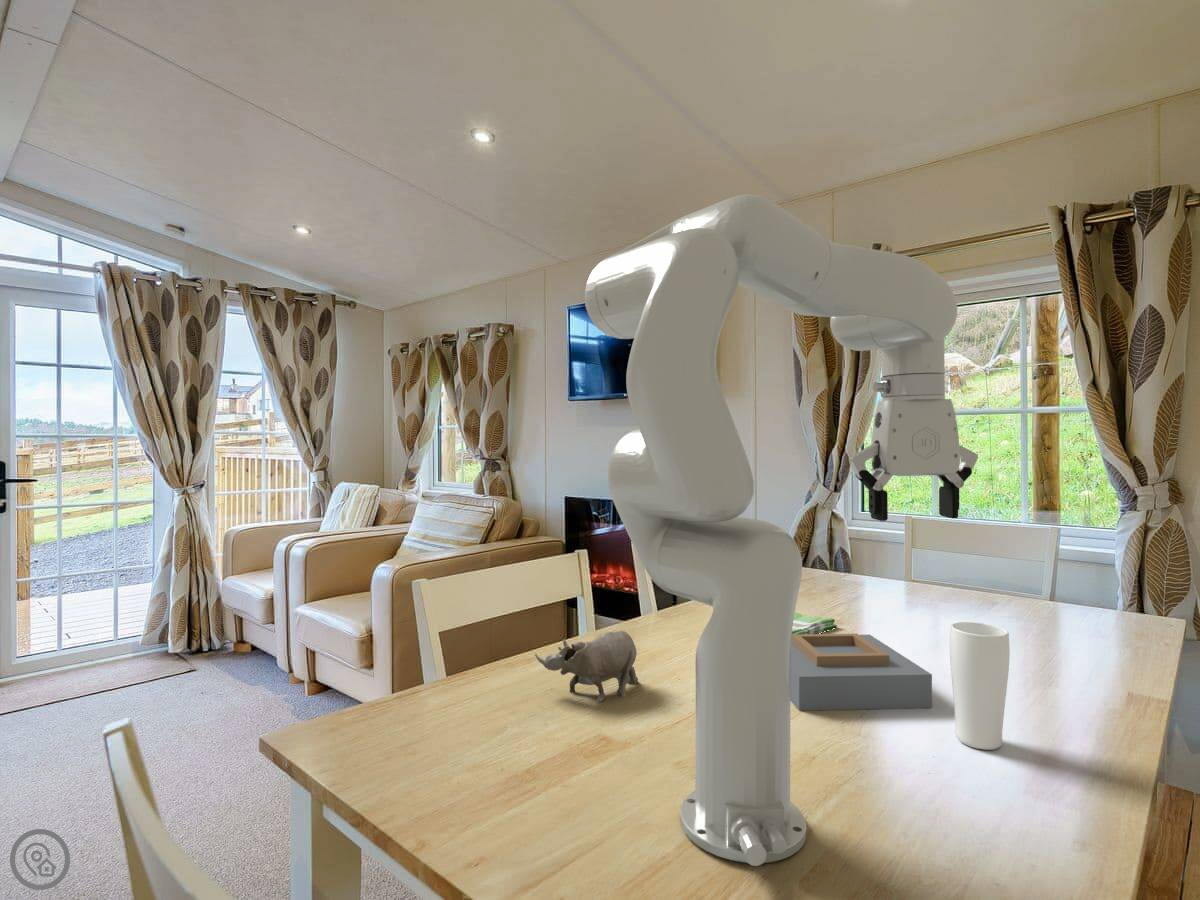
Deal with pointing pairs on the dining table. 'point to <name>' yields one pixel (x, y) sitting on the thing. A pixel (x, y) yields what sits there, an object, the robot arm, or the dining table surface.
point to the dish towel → (811, 624)
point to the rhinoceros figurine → (597, 661)
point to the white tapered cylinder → (979, 682)
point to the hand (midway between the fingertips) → (913, 518)
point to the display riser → (854, 674)
